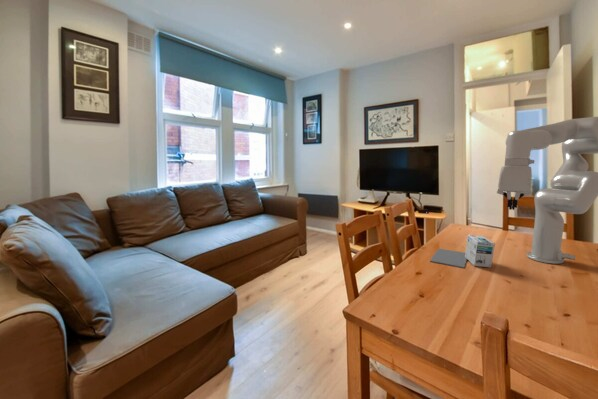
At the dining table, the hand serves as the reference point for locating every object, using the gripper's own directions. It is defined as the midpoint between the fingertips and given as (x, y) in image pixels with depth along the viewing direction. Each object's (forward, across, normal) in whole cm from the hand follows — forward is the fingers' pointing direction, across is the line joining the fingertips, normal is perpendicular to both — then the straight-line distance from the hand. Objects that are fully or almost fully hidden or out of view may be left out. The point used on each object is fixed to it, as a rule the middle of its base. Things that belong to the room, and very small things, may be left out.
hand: (511, 209), depth 109 cm
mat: (+25, +20, 0) cm, 32 cm away
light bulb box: (+25, +10, 0) cm, 27 cm away
